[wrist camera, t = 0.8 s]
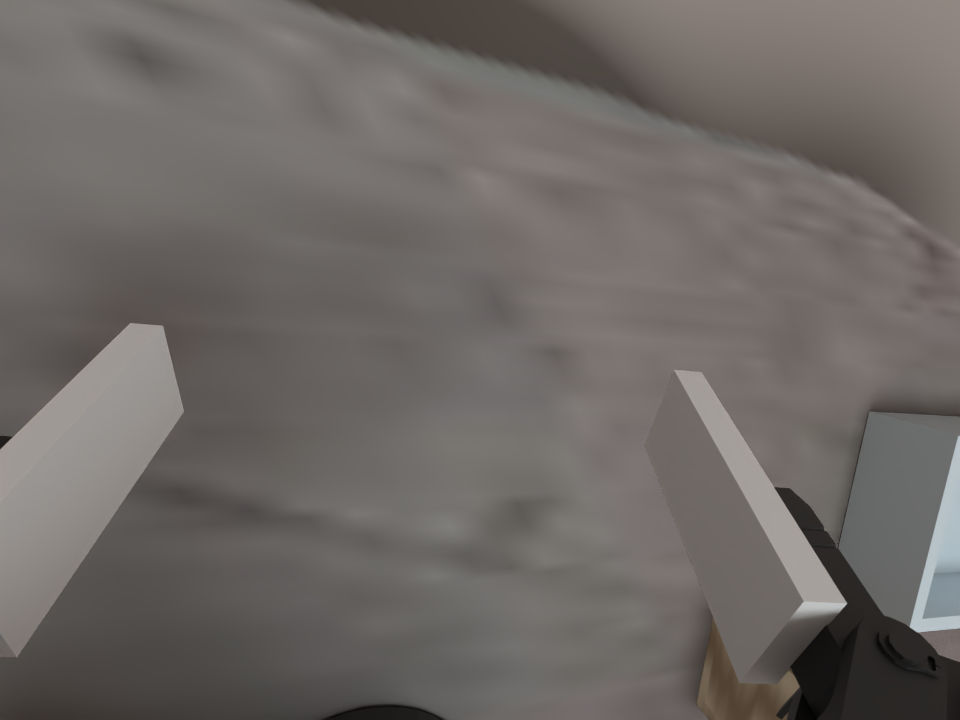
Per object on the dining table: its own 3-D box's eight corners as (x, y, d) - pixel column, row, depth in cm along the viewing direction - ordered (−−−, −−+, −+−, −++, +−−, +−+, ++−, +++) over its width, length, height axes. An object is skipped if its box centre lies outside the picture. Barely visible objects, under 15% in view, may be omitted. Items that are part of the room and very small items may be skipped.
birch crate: (789, 691, 43) (902, 796, 35) (695, 703, 41) (792, 820, 32) (812, 589, 42) (935, 672, 33) (716, 595, 39) (823, 686, 31)
